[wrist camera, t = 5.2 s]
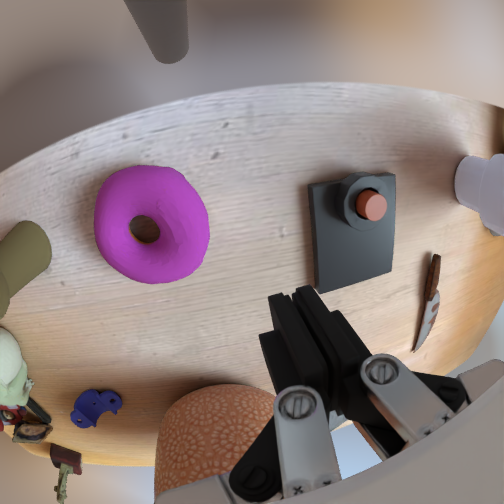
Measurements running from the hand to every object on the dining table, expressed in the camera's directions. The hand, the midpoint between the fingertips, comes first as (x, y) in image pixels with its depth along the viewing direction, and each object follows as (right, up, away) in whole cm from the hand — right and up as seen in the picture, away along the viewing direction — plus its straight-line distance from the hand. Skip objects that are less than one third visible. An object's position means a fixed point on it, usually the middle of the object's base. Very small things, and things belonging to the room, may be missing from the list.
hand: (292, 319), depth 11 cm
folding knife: (-39, -25, +20) cm, 50 cm away
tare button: (+9, +7, +14) cm, 18 cm away
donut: (-11, +6, +14) cm, 18 cm away
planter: (-6, -21, +26) cm, 34 cm away
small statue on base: (-46, -46, +30) cm, 71 cm away
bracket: (-24, -21, +19) cm, 37 cm away
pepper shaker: (-25, +3, +12) cm, 28 cm away
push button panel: (+9, +5, +18) cm, 21 cm away
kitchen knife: (+28, -6, +27) cm, 39 cm away
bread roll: (-45, -36, +24) cm, 62 cm away
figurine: (-38, -13, +16) cm, 44 cm away
